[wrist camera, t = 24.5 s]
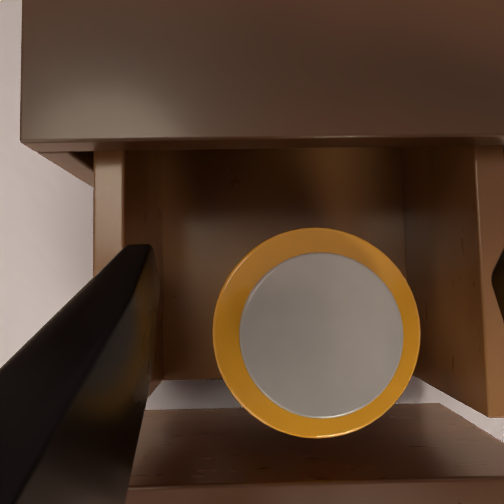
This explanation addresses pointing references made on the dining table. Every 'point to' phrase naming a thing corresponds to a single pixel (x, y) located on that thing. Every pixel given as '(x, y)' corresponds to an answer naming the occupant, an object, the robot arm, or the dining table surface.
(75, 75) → the cabinet
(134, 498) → the drawer
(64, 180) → the dining table surface
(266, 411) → the yellow jar
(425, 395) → the dining table surface
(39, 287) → the dining table surface
